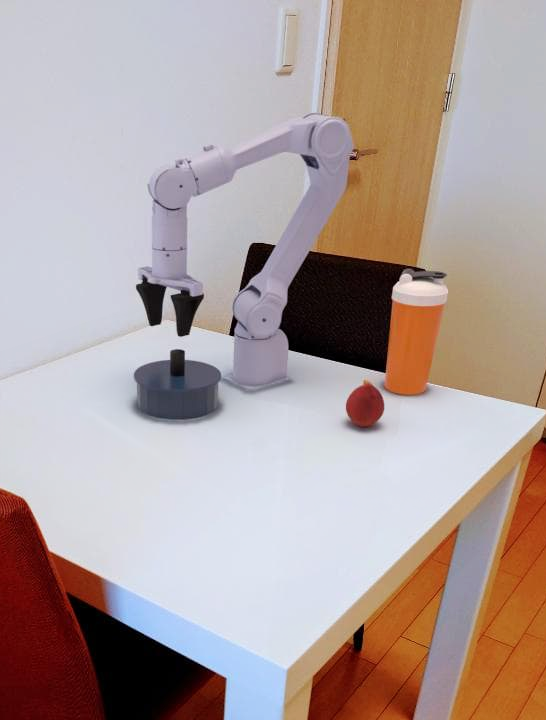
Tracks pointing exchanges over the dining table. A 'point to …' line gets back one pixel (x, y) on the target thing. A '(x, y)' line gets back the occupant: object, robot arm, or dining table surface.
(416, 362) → the shaker bottle
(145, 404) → the pot
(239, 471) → the dining table surface
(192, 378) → the lid
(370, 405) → the onion
